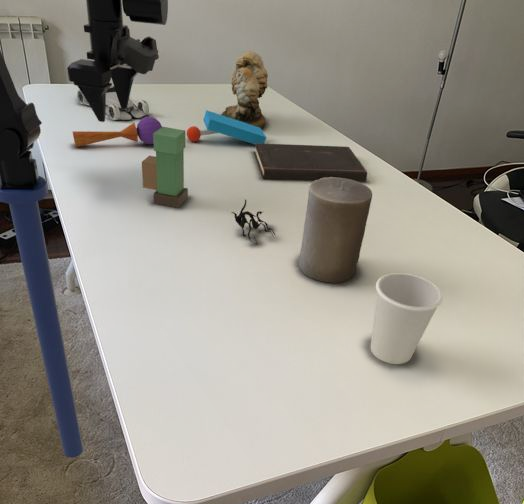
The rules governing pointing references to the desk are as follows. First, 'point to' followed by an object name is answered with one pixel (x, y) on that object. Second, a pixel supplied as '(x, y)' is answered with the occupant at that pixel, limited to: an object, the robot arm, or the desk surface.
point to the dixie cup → (402, 315)
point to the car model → (114, 106)
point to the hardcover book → (308, 162)
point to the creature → (254, 223)
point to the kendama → (121, 133)
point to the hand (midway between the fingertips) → (113, 114)
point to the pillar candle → (334, 228)
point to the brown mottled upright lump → (248, 90)
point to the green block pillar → (166, 168)
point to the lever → (227, 129)
